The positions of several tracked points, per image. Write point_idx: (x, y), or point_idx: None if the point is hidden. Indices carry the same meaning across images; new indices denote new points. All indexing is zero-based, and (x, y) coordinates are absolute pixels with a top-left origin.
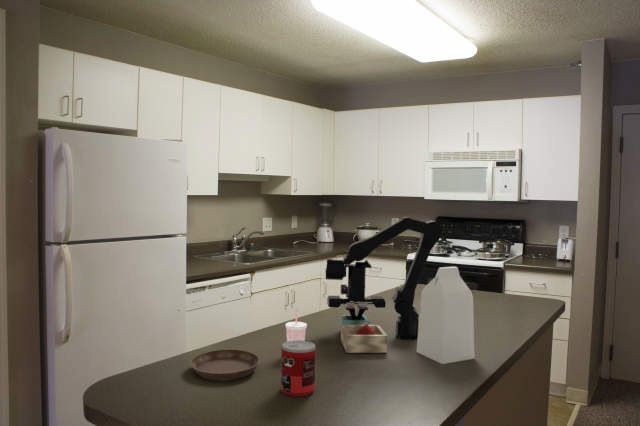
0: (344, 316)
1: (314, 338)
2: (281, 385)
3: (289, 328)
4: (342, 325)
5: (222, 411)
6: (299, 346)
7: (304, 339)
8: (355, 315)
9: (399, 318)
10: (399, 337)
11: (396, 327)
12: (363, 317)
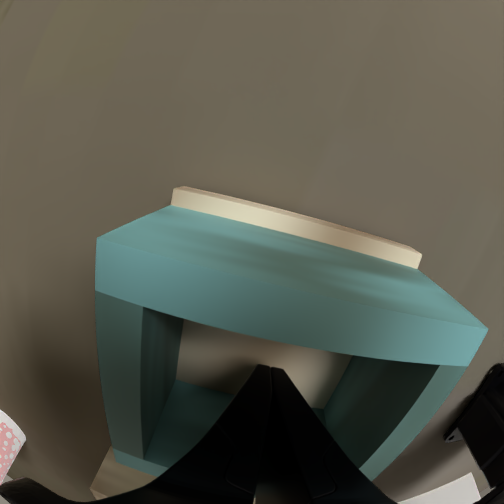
0: (126, 341)
1: (12, 323)
2: None
3: None
4: (98, 495)
5: (12, 476)
6: None
7: (8, 468)
8: (355, 337)
9: (499, 479)
10: (451, 428)
11: (486, 430)
12: (401, 414)
